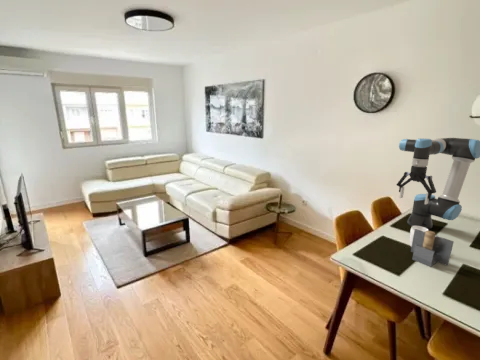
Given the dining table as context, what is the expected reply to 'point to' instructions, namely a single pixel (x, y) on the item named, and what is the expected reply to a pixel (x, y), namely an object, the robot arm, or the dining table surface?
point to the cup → (414, 230)
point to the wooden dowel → (429, 239)
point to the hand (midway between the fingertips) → (413, 200)
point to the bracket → (430, 257)
